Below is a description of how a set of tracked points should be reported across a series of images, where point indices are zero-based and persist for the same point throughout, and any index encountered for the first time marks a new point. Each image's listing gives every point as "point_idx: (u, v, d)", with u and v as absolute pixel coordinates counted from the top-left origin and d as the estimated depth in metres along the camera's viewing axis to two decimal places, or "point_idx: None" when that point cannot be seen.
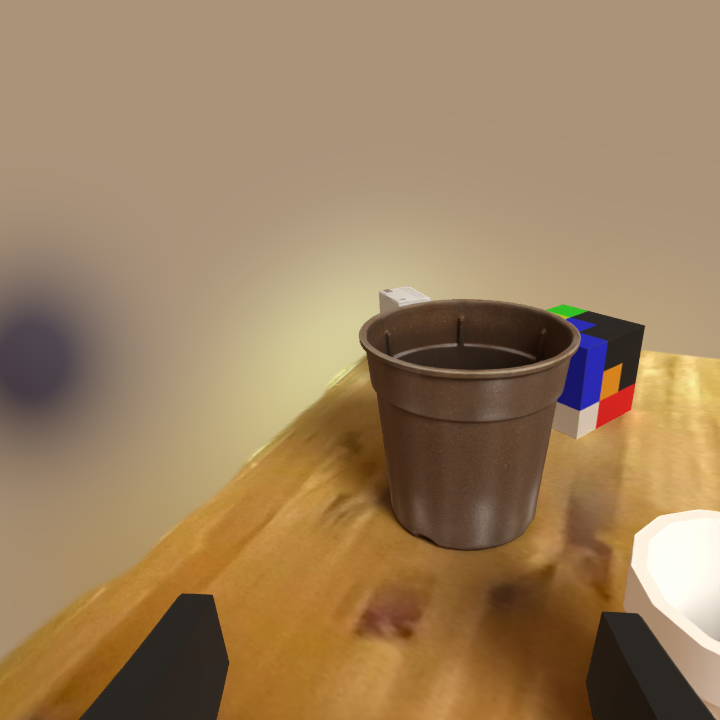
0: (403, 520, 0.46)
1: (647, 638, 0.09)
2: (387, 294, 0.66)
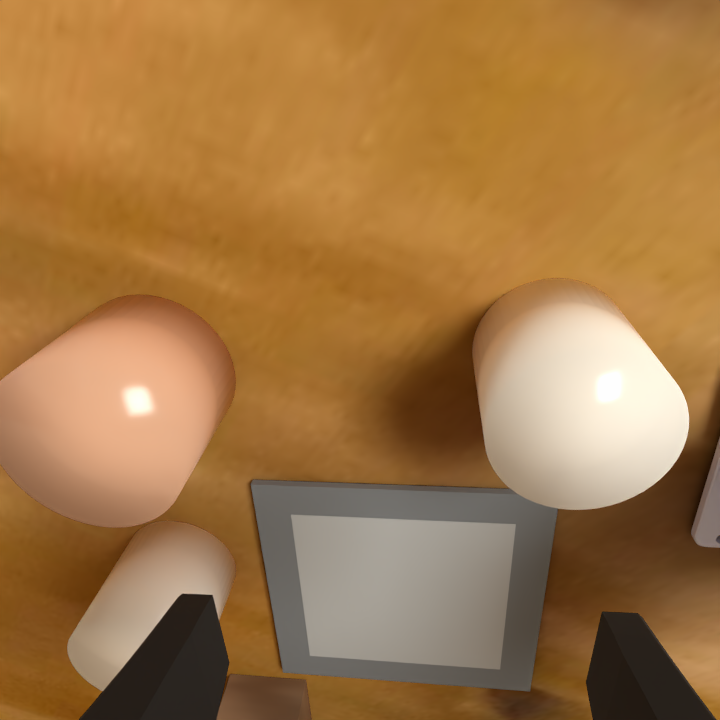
0: None
1: (647, 638, 0.09)
2: None
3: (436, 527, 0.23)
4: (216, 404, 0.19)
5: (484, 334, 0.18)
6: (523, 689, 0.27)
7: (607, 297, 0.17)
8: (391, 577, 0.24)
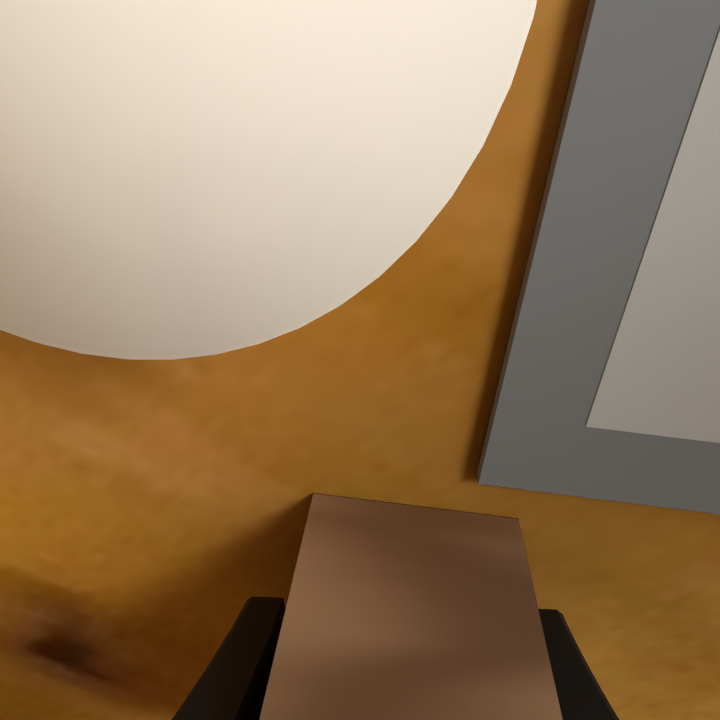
0: None
1: (561, 634, 0.09)
2: None
3: None
4: None
5: None
6: None
7: None
8: None
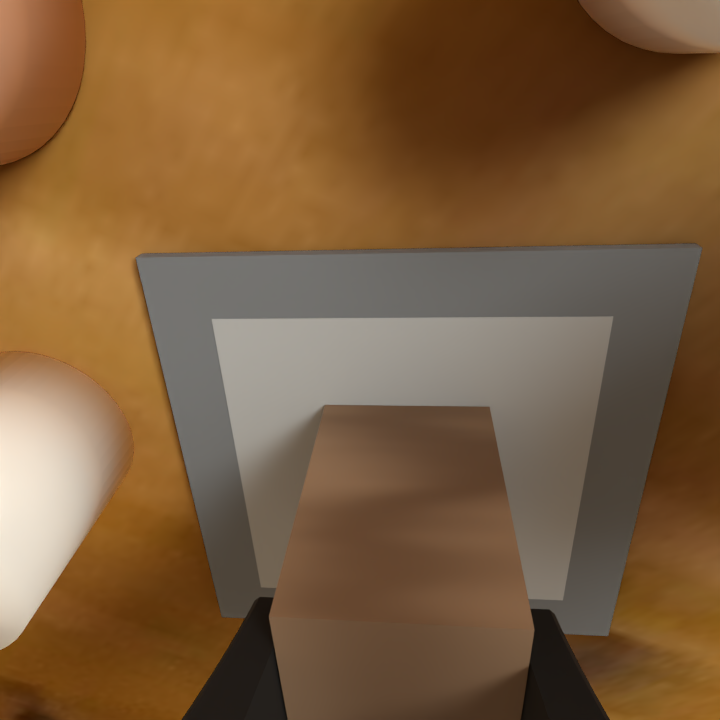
0: None
1: (553, 633, 0.09)
2: None
3: (468, 331, 0.13)
4: None
5: None
6: (597, 632, 0.17)
7: None
8: None
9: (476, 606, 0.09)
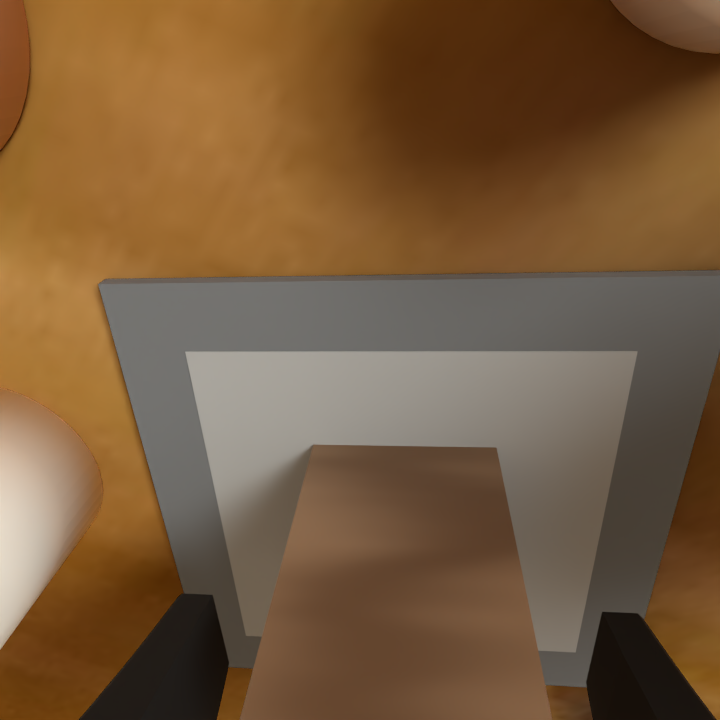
0: None
1: (647, 638, 0.09)
2: None
3: (473, 366, 0.11)
4: None
5: None
6: None
7: None
8: None
9: (486, 711, 0.07)
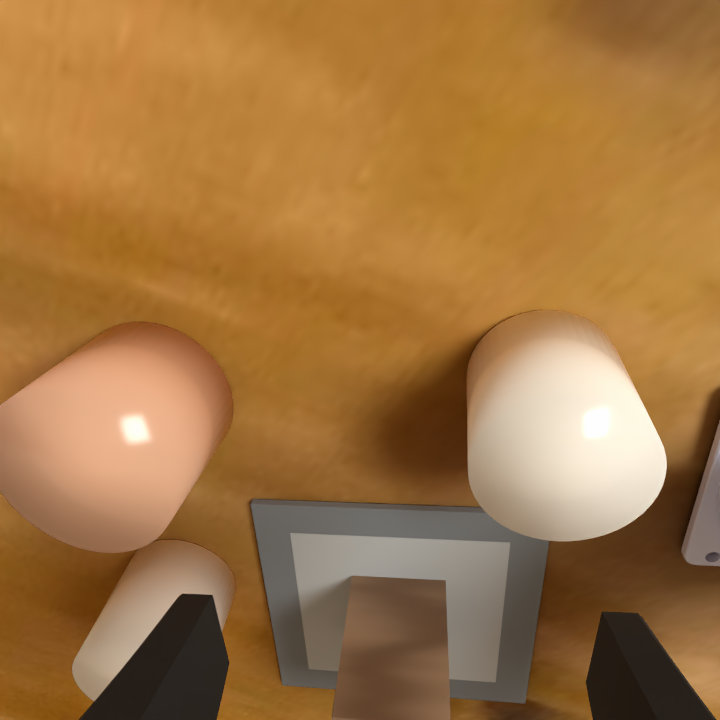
0: None
1: (647, 638, 0.09)
2: None
3: (432, 545, 0.23)
4: (182, 378, 0.18)
5: (535, 328, 0.17)
6: (518, 701, 0.27)
7: None
8: None
9: (426, 714, 0.19)
